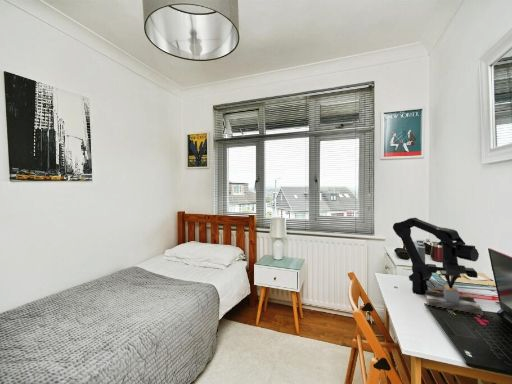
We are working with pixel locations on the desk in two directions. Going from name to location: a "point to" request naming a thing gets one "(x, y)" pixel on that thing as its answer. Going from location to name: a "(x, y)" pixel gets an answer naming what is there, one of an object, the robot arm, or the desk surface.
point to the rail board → (464, 304)
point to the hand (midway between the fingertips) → (450, 287)
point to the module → (451, 294)
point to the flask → (420, 249)
